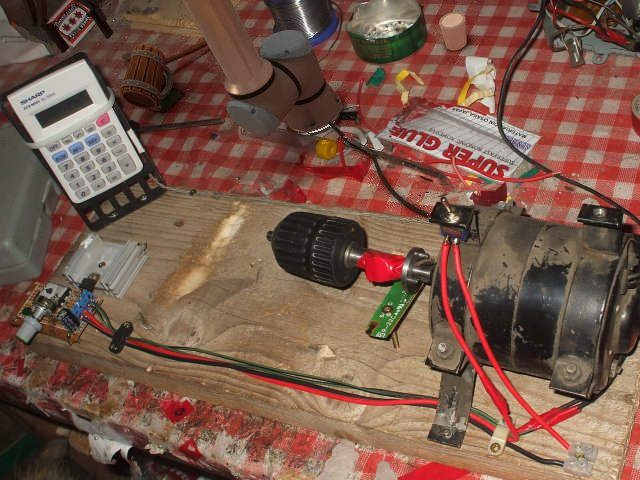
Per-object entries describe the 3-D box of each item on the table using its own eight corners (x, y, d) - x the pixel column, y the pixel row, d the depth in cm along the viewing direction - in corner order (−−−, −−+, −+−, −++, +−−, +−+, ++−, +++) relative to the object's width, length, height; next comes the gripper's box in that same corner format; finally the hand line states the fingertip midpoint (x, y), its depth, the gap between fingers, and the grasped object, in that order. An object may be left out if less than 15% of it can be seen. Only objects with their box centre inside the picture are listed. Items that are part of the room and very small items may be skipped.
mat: (183, 95, 183) (182, 94, 182) (163, 113, 180) (162, 111, 180) (160, 84, 188) (159, 82, 188) (140, 100, 186) (139, 99, 186)
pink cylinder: (440, 41, 168) (435, 18, 163) (463, 31, 168) (459, 8, 162) (448, 55, 164) (444, 32, 159) (472, 45, 164) (469, 21, 158)
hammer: (133, 87, 188) (118, 55, 181) (230, 48, 199) (219, 16, 192) (141, 94, 183) (126, 61, 176) (239, 53, 195) (229, 21, 188)
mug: (142, 89, 167) (153, 39, 170) (110, 90, 170) (122, 41, 173) (177, 118, 181) (188, 72, 184) (147, 119, 184) (158, 73, 187)
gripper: (76, -72, 135) (135, 22, 150) (-9, -38, 143) (55, 48, 157) (59, -59, 130) (122, 37, 145) (-28, -25, 138) (40, 63, 153)
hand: (87, 43), depth 151 cm, fingers open, 13 cm apart
